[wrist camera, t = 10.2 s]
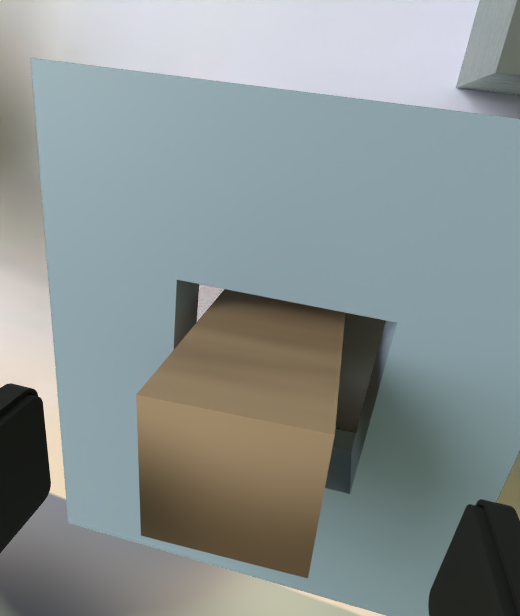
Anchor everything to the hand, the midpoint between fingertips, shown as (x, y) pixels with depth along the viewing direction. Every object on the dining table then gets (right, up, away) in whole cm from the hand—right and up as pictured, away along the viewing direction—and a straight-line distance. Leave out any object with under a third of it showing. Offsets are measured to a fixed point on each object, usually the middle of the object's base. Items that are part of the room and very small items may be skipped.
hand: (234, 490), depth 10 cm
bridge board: (+2, +4, +10) cm, 11 cm away
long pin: (+2, +4, +10) cm, 11 cm away
